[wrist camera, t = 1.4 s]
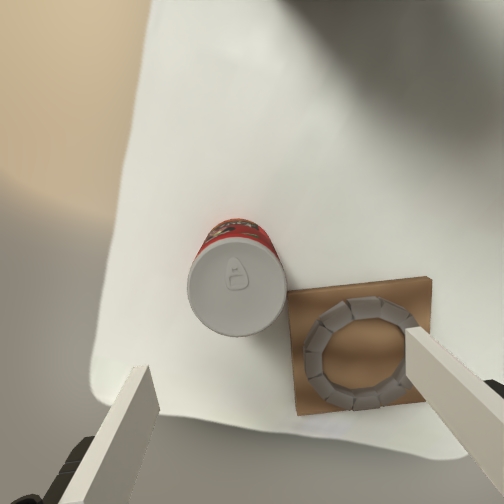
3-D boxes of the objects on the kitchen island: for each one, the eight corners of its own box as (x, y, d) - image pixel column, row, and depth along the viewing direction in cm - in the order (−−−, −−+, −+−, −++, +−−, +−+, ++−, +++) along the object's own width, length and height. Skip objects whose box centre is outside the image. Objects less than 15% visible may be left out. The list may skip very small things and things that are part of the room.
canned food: (255, 205, 32) (262, 221, 22) (284, 270, 34) (304, 314, 24) (190, 235, 33) (166, 265, 22) (222, 298, 35) (214, 353, 24)
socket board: (286, 291, 35) (290, 300, 32) (426, 276, 35) (440, 284, 33) (295, 408, 39) (299, 425, 36) (420, 394, 39) (433, 410, 37)
